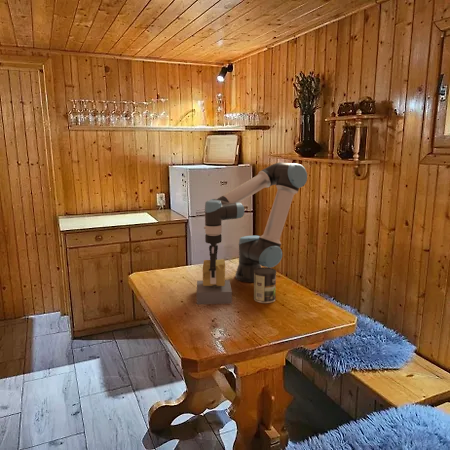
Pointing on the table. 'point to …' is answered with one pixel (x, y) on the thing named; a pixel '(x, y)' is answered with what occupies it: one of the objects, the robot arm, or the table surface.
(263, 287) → the coffee can
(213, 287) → the charcoal block
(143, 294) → the table surface
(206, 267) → the cheese
